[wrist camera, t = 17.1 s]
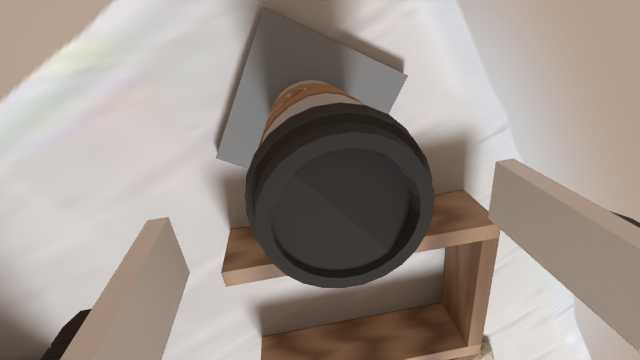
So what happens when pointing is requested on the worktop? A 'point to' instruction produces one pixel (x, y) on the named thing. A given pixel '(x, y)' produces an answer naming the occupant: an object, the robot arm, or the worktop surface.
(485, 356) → the washcloth
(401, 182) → the coffee cup
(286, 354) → the u-shaped wooden frame
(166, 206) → the worktop surface
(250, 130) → the coaster
